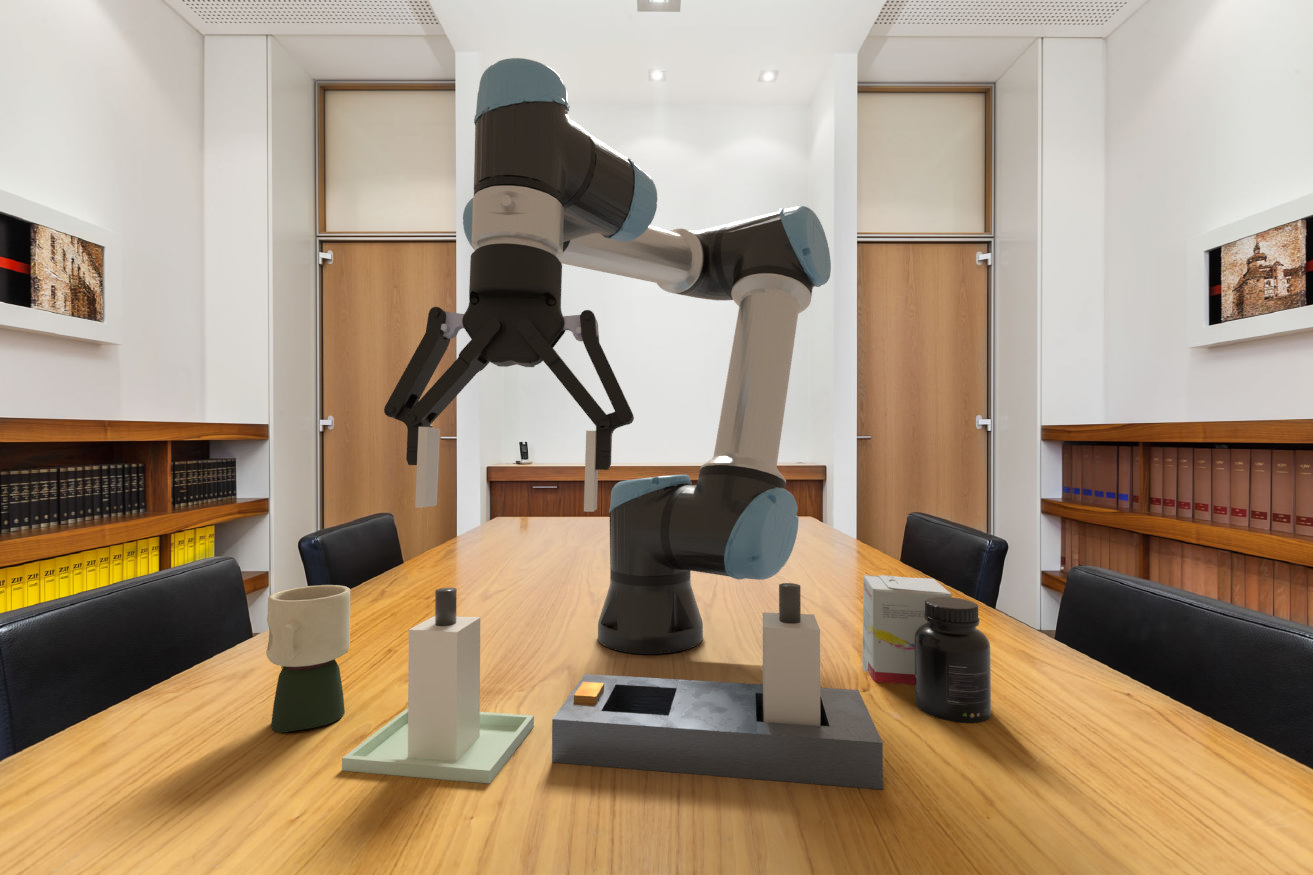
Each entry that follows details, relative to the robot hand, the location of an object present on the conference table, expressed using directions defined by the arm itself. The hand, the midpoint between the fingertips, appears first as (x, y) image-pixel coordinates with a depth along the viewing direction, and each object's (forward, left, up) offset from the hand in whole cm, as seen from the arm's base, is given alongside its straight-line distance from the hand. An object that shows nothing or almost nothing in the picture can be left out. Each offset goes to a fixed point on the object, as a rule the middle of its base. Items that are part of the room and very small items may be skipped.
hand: (508, 509), depth 49 cm
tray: (-4, -7, -22) cm, 24 cm away
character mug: (-7, -23, -23) cm, 33 cm away
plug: (-4, -7, -22) cm, 23 cm away
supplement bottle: (-17, +40, -23) cm, 48 cm away
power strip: (-6, +17, -22) cm, 28 cm away
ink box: (-27, +38, -23) cm, 51 cm away
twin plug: (-6, +23, -21) cm, 32 cm away
